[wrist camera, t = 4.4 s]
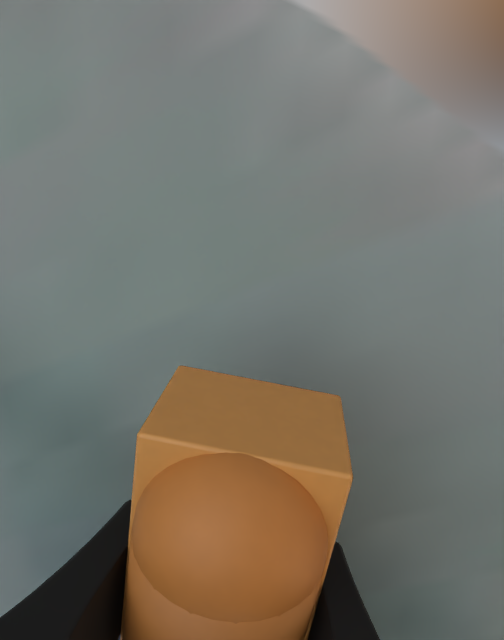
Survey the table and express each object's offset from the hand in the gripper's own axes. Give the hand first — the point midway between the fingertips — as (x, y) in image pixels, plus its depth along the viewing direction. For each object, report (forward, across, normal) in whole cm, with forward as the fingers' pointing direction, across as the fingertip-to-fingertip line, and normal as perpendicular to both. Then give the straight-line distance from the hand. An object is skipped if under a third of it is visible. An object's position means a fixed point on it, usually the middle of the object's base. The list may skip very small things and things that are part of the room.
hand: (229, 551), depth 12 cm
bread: (+1, 0, 0) cm, 1 cm away
